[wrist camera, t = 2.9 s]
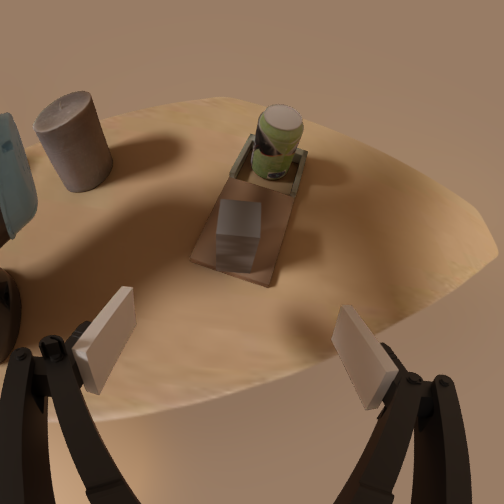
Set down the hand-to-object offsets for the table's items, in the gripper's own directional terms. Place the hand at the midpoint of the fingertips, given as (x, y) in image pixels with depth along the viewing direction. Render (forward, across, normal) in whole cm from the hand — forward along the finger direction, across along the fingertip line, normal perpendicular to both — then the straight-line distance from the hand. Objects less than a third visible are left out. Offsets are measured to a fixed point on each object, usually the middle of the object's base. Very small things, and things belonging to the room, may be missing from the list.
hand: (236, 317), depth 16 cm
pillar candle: (+28, -26, +7) cm, 39 cm away
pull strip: (+24, +2, +4) cm, 25 cm away
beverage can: (+29, +4, +8) cm, 31 cm away
